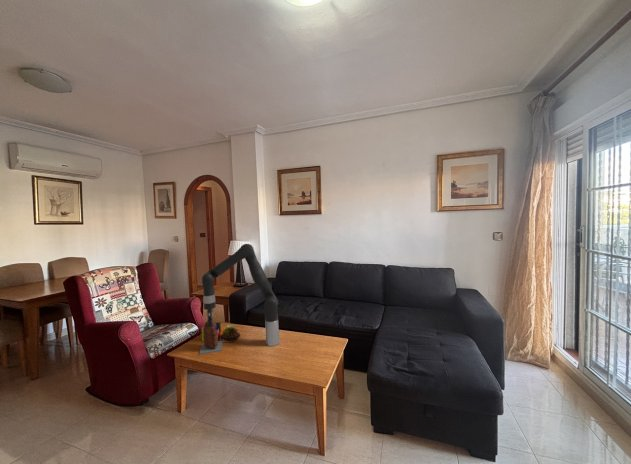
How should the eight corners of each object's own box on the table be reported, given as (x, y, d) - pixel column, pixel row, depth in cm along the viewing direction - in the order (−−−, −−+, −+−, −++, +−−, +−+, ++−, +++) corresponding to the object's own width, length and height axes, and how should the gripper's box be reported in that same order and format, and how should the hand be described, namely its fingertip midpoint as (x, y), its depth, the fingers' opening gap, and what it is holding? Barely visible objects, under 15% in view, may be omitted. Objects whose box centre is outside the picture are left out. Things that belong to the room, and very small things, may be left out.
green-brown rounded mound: (217, 335, 197) (216, 323, 197) (238, 331, 204) (238, 319, 203) (218, 345, 181) (218, 331, 181) (241, 340, 188) (241, 327, 187)
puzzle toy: (215, 341, 187) (215, 328, 187) (202, 341, 187) (201, 328, 187) (220, 335, 197) (220, 322, 197) (208, 335, 197) (207, 322, 197)
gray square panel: (222, 342, 185) (222, 341, 184) (222, 350, 172) (222, 349, 172) (201, 346, 180) (201, 344, 180) (199, 355, 168) (199, 353, 168)
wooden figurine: (221, 345, 177) (219, 319, 176) (213, 349, 171) (212, 323, 170) (209, 342, 182) (208, 317, 181) (201, 346, 176) (200, 320, 175)
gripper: (204, 299, 180) (205, 321, 181) (202, 305, 167) (203, 329, 167) (215, 297, 183) (216, 320, 183) (215, 303, 169) (216, 327, 170)
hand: (210, 324), depth 175 cm, fingers closed on wooden figurine, 7 cm apart
